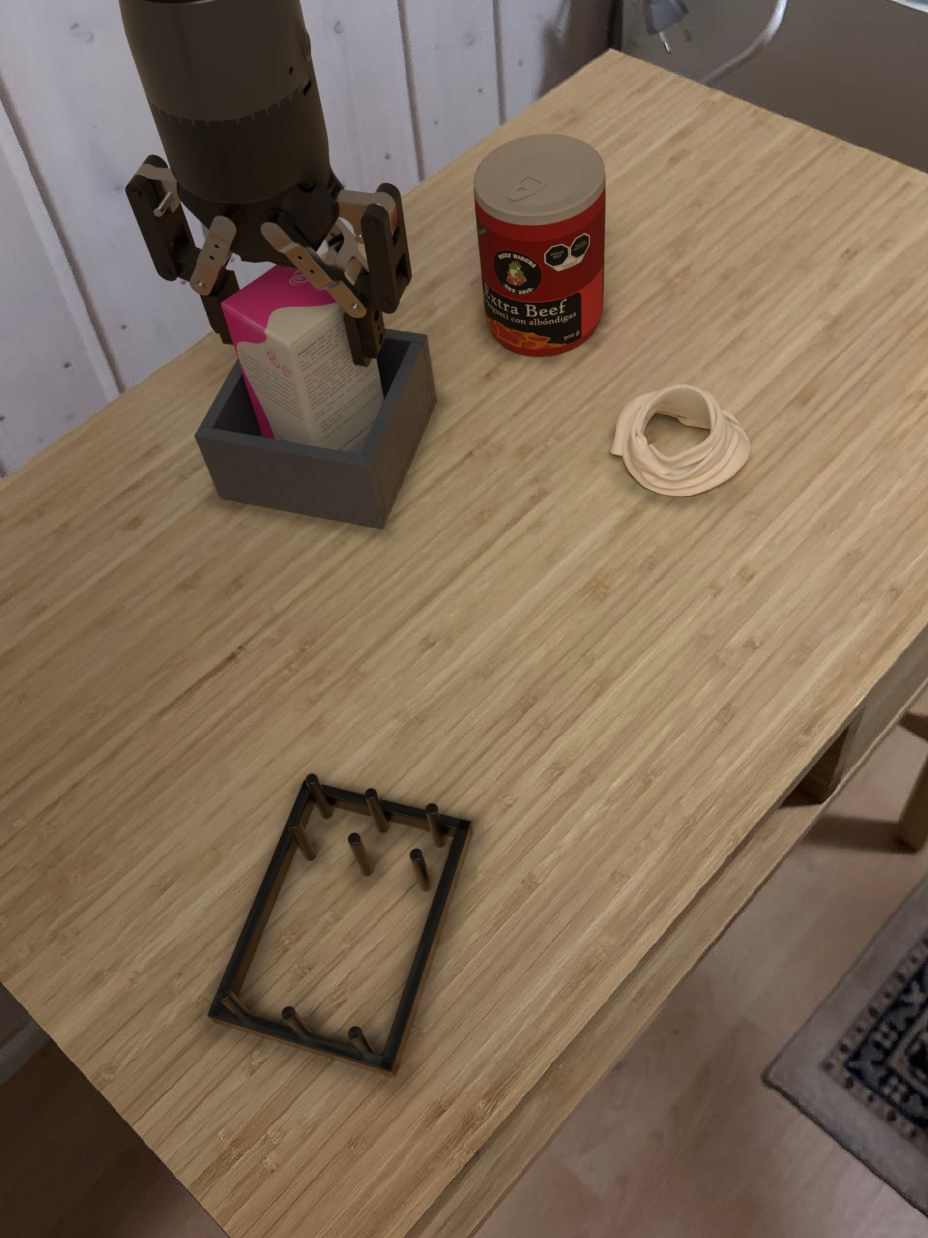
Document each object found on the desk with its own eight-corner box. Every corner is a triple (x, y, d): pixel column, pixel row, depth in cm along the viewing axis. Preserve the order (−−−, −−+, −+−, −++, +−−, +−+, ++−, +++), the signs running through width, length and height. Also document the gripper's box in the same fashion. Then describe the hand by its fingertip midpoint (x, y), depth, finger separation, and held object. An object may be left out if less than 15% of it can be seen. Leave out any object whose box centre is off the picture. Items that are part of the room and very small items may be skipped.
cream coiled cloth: (753, 439, 70) (771, 377, 66) (733, 516, 66) (751, 455, 62) (624, 410, 71) (635, 347, 67) (598, 484, 67) (607, 422, 63)
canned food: (466, 343, 75) (450, 200, 66) (516, 267, 79) (507, 121, 70) (575, 372, 73) (573, 228, 64) (620, 292, 77) (625, 145, 68)
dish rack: (394, 1079, 50) (381, 1057, 47) (213, 1022, 52) (188, 998, 49) (473, 830, 56) (466, 796, 53) (308, 789, 58) (291, 753, 55)
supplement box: (395, 436, 70) (366, 288, 61) (326, 494, 68) (285, 351, 59) (331, 394, 73) (294, 246, 63) (262, 449, 71) (213, 304, 61)
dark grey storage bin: (382, 529, 67) (367, 466, 63) (219, 498, 70) (193, 435, 65) (437, 400, 73) (427, 333, 68) (284, 376, 75) (264, 309, 70)
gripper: (43, 97, 50) (158, 373, 64) (347, 130, 47) (400, 414, 60) (119, 5, 54) (213, 284, 67) (406, 29, 51) (444, 317, 64)
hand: (301, 345), depth 64 cm, fingers closed on supplement box, 7 cm apart
